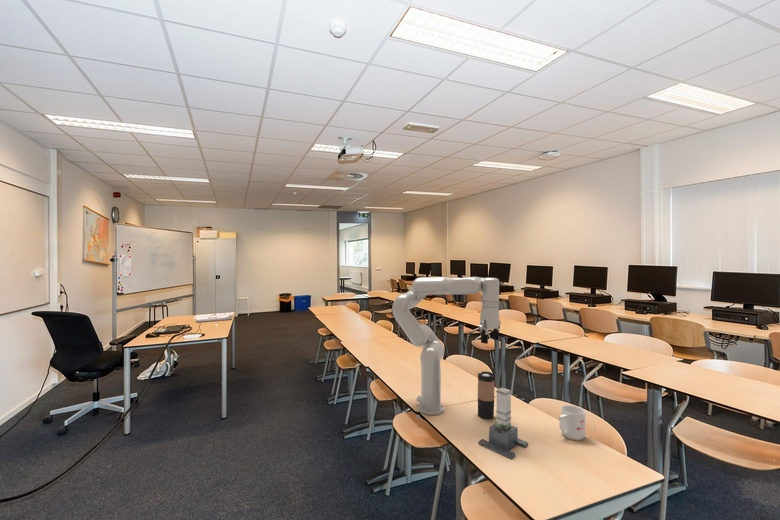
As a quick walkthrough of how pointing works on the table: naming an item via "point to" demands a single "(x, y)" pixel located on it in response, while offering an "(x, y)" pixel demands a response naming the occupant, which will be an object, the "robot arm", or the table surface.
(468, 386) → the table surface
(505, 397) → the column
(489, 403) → the travel mug
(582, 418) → the mug
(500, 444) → the stand
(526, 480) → the table surface
